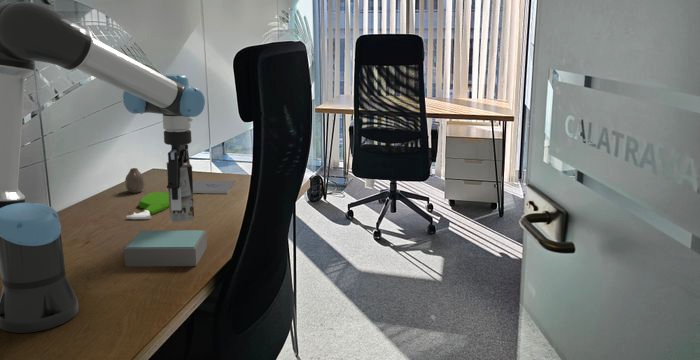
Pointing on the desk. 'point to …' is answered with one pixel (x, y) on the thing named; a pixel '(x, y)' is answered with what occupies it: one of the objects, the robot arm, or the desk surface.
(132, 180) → the vase
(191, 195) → the coffee box
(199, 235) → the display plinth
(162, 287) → the desk surface
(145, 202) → the spray bottle
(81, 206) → the desk surface
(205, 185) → the play button award
